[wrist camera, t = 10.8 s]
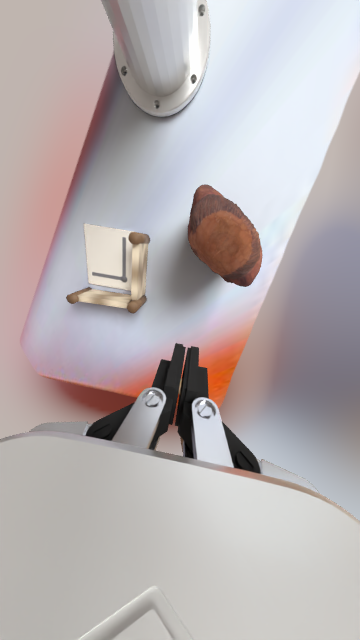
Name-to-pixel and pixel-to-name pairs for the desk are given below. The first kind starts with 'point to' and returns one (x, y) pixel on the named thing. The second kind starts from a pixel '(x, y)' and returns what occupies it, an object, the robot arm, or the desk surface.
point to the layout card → (108, 256)
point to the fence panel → (100, 297)
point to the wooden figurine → (224, 237)
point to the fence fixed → (138, 270)
